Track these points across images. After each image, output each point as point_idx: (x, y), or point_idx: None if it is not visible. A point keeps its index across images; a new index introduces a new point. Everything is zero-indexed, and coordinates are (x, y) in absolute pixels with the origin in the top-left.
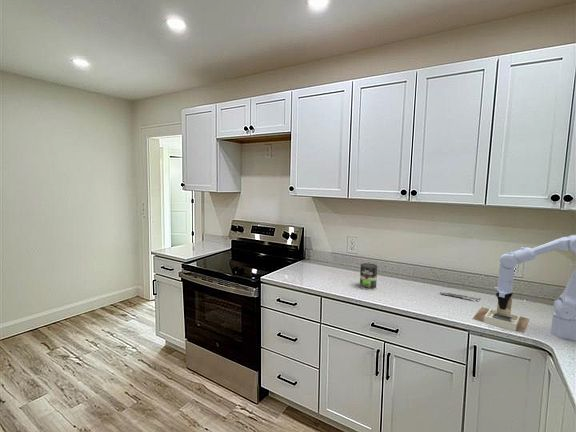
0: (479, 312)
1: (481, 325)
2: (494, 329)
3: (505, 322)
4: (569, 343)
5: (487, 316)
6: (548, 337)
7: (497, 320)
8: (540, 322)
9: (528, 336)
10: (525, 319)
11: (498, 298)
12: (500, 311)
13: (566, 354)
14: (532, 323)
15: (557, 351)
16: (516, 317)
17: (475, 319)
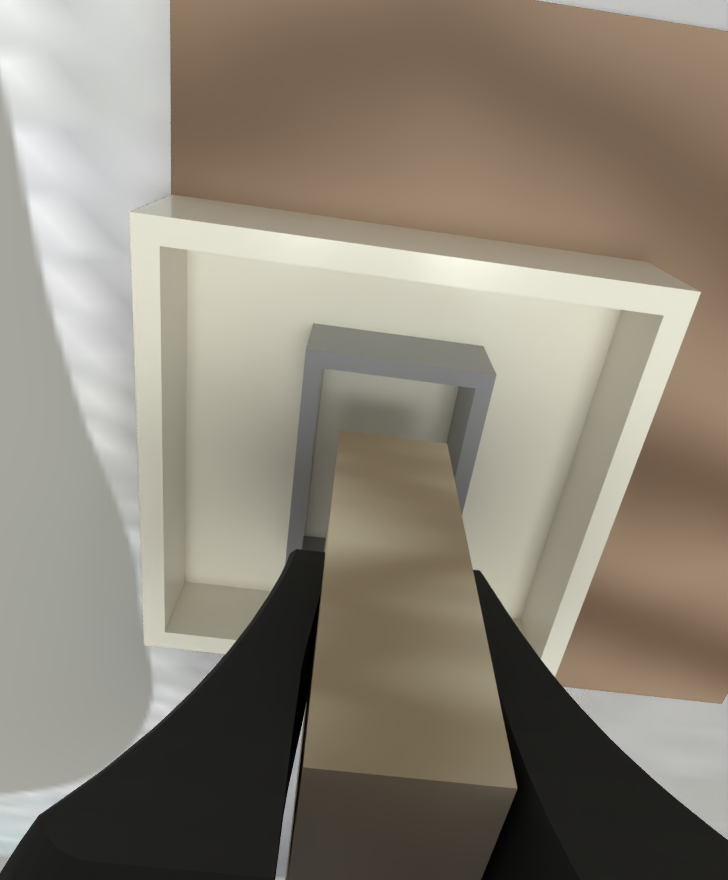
0: (670, 67)
1: (74, 156)
2: (74, 348)
3: (145, 527)
4: (277, 869)
5: (153, 267)
6: (296, 780)
7: (144, 425)
8: (697, 758)
9: (176, 659)
10: (672, 670)
11: (126, 765)
12: (328, 520)
13: (15, 837)
14: (620, 703)
15: (16, 802)
16: (534, 634)
17: (189, 22)
